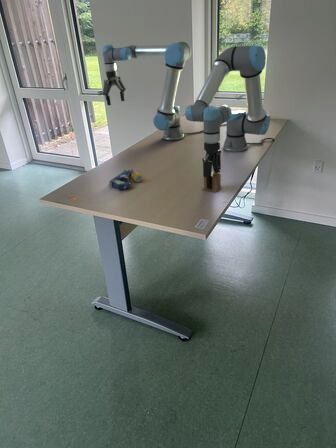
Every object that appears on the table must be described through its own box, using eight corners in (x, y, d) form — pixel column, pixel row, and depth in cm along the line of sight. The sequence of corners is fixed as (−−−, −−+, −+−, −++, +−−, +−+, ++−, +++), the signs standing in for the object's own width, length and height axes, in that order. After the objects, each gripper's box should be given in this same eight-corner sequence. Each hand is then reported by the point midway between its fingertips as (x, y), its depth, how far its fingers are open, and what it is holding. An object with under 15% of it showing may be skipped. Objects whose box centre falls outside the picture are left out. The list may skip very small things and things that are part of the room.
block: (209, 185, 173) (209, 171, 169) (220, 188, 170) (220, 173, 165) (204, 189, 170) (203, 174, 166) (215, 192, 166) (215, 177, 162)
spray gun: (148, 176, 189) (126, 173, 196) (147, 169, 187) (125, 167, 194) (129, 192, 174) (105, 189, 180) (127, 185, 172) (104, 182, 178)
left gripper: (120, 67, 238) (124, 99, 249) (93, 73, 221) (99, 106, 232) (127, 68, 233) (131, 99, 244) (101, 73, 217) (106, 107, 228)
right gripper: (215, 135, 165) (215, 178, 177) (194, 146, 153) (196, 191, 165) (228, 137, 161) (227, 181, 173) (208, 148, 149) (209, 195, 161)
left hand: (116, 103), depth 238 cm, fingers open, 13 cm apart
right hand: (212, 186), depth 169 cm, fingers closed on block, 5 cm apart
